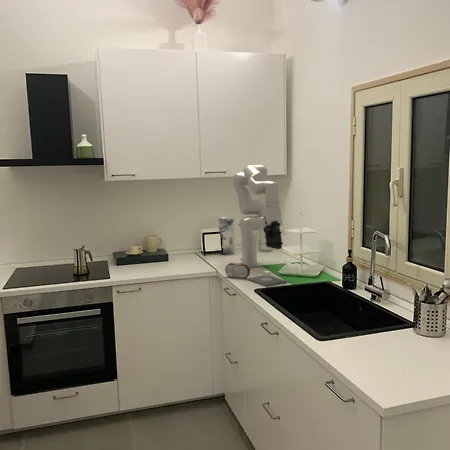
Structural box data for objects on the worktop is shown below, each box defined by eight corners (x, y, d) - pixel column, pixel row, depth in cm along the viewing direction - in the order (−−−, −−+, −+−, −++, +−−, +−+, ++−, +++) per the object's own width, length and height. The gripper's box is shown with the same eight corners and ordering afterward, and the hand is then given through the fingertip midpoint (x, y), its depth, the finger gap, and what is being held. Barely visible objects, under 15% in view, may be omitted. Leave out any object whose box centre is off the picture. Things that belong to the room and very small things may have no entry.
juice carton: (228, 251, 351) (227, 215, 347) (236, 254, 342) (235, 216, 338) (217, 253, 346) (217, 216, 342) (225, 255, 337) (224, 217, 333)
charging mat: (247, 280, 269) (247, 274, 268) (267, 276, 276) (267, 270, 276) (266, 286, 254) (266, 280, 253) (286, 282, 261) (286, 276, 261)
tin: (250, 278, 273) (250, 263, 272) (248, 279, 271) (248, 264, 269) (226, 275, 280) (226, 261, 278) (224, 277, 277) (224, 263, 275)
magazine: (280, 247, 258) (273, 221, 262) (267, 254, 269) (260, 229, 273) (286, 246, 260) (278, 220, 264) (273, 253, 271) (266, 228, 275)
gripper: (279, 202, 272) (279, 234, 274) (256, 204, 263) (256, 237, 265) (287, 203, 266) (288, 235, 268) (264, 205, 257) (265, 239, 259)
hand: (272, 236), depth 267 cm, fingers closed on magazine, 3 cm apart
